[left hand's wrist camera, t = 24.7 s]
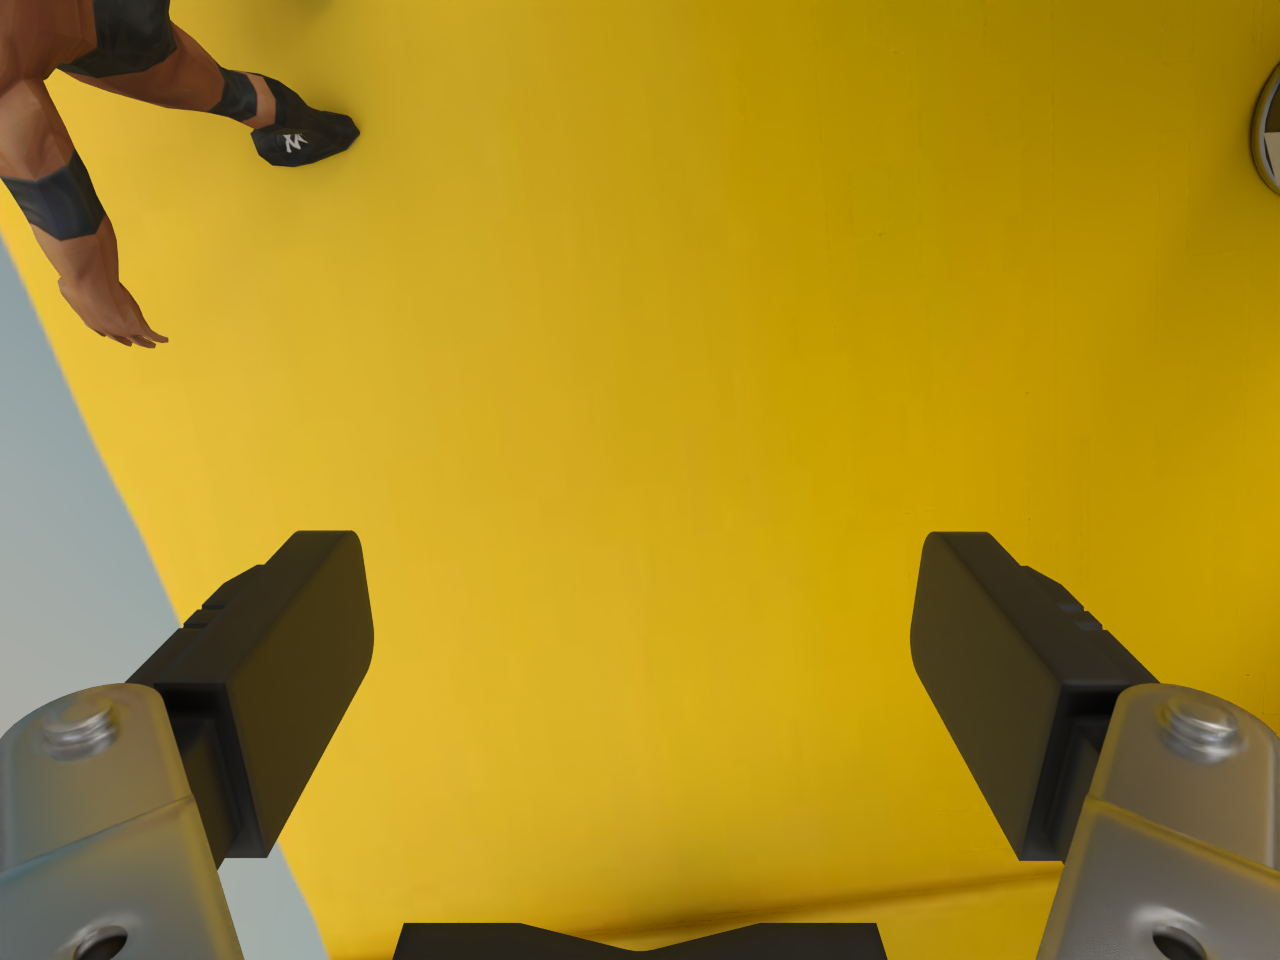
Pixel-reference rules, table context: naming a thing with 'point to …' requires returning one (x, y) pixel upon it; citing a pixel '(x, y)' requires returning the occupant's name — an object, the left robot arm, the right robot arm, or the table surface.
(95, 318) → the figurine
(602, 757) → the table surface
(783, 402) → the table surface
